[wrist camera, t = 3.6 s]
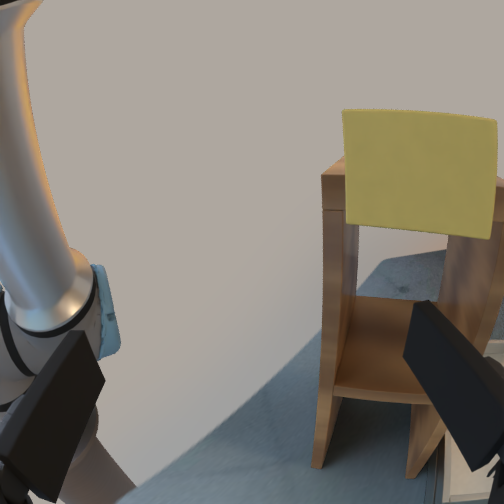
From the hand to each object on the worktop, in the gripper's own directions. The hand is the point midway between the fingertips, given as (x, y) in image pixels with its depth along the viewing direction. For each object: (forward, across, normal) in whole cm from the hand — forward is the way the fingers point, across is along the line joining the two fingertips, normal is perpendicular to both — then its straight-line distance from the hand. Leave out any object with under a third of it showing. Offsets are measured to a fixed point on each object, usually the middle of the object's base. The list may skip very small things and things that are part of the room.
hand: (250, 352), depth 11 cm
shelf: (+12, +13, -24) cm, 30 cm away
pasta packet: (+7, +10, +6) cm, 13 cm away
